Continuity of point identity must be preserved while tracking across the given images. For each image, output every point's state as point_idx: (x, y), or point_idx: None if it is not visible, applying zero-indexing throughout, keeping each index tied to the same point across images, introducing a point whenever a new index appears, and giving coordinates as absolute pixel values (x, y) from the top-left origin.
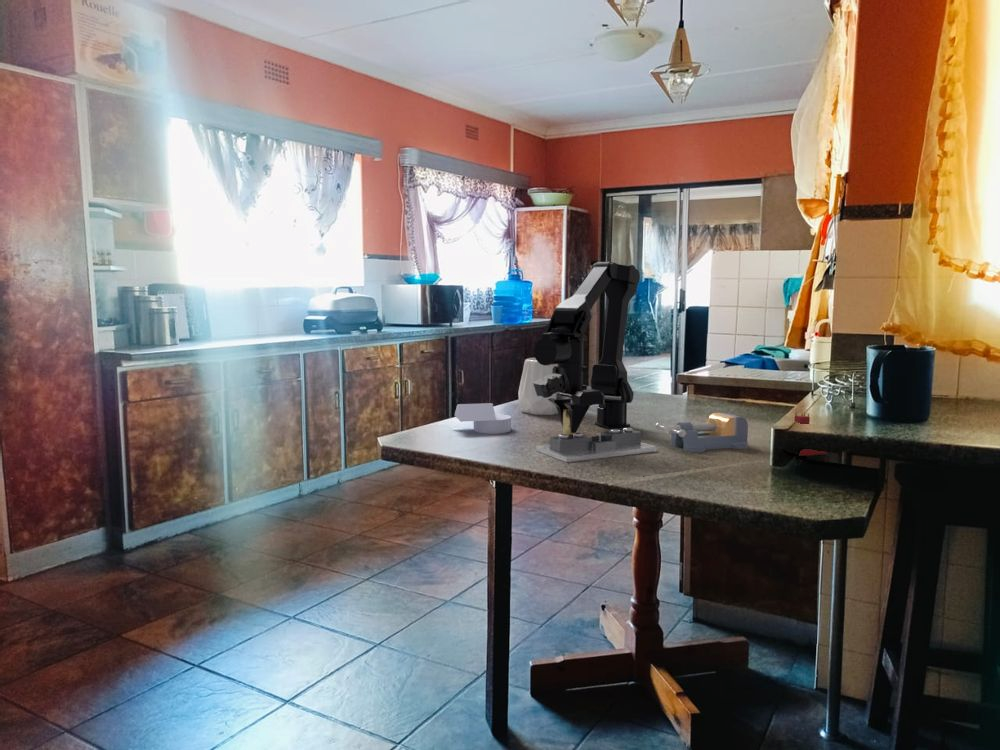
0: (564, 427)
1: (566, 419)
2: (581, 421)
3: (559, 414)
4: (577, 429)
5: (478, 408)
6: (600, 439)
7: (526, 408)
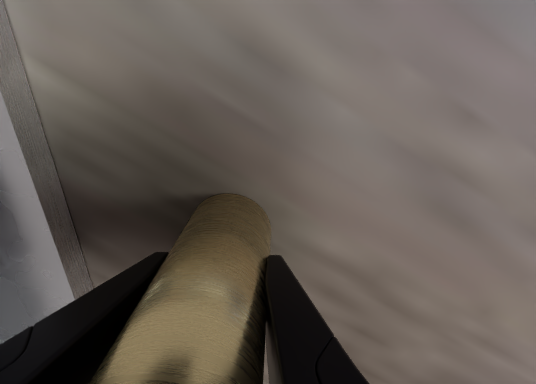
0: (201, 244)
1: (149, 307)
2: None
3: (320, 348)
4: None
5: None
6: None
7: None
